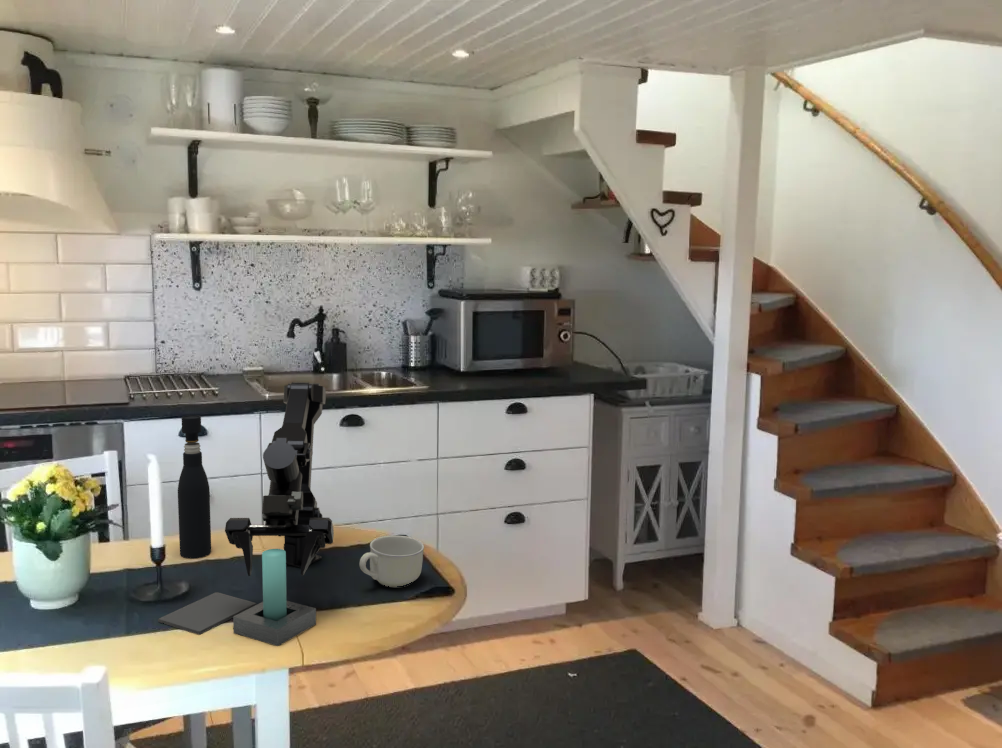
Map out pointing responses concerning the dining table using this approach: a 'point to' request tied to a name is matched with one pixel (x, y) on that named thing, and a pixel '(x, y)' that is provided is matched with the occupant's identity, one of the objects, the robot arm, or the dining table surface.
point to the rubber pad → (206, 613)
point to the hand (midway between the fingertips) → (275, 574)
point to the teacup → (394, 560)
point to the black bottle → (193, 495)
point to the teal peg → (274, 584)
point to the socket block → (274, 623)
